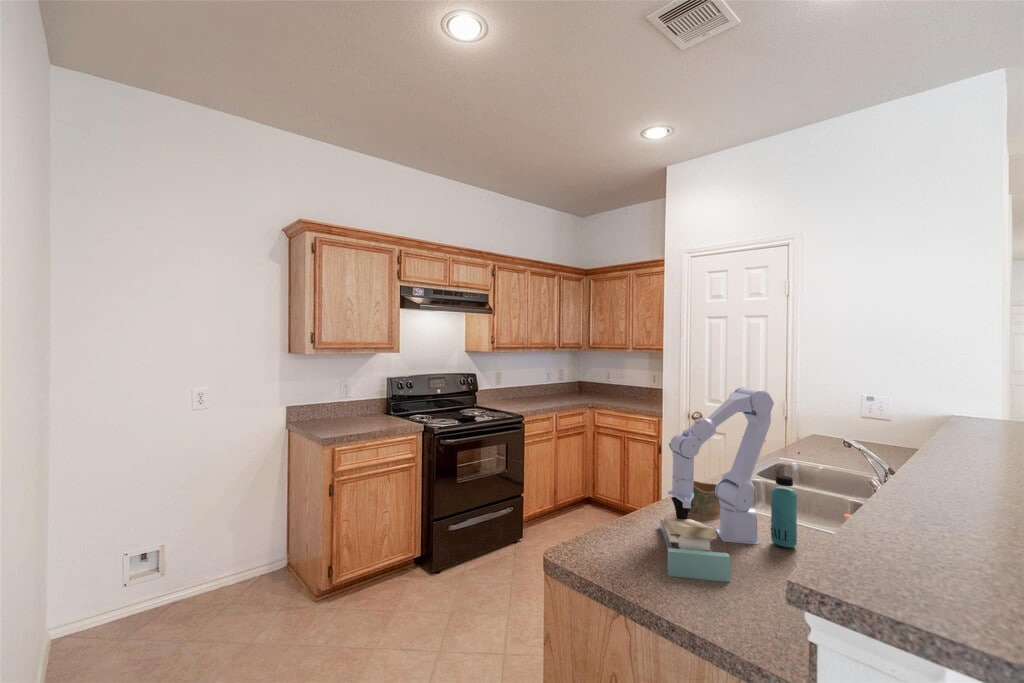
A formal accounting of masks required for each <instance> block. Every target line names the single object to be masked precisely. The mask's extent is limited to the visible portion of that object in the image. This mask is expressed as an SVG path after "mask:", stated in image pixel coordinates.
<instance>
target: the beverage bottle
mask: <svg viewBox="0 0 1024 683" xmlns="http://www.w3.org/2000/svg"><path fill="white" fill-rule="evenodd" d="M793 481H794V480H793V478H792V477H791V476H788V475H776V478H775V484H776V485H778V486H776V487H774V488H773V489H772V490H771V491H770V492H771V503H770V505H771V508H770V512H771V514H770V539H771V542H772V543H774V545H775V544H776V545H778V546H781V547H783V548H784V547H785V548H794V547H796V546H797V544H798V524H797V523H798V520H797V519H798V518H797V516H798V515H797V514H798V493H797V492H795V490H794V489H793V488H791V487H793V486H794V483H793Z"/></svg>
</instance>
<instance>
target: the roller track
mask: <svg viewBox="0 0 1024 683" xmlns="http://www.w3.org/2000/svg"><path fill="white" fill-rule="evenodd" d="M659 529H660V533H661V535H662V538H663V541H664V544H665V547H666V551H667V552H668V548H674V549H680V547H679V544H678V539H679V537H680V536H681V535H679V534H677V533H675V532H673V531H671V530H669V529H667V528H665V527H664V519H659ZM708 552H713V550H712V548H711V547H710V548H709V550H708Z"/></svg>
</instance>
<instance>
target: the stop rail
mask: <svg viewBox="0 0 1024 683" xmlns="http://www.w3.org/2000/svg"><path fill="white" fill-rule="evenodd" d="M667 575H668V577H674V578H675V577H676V578H684V579H685V578H686V579H692V580H693V579H694V580H705V581H706V580H707V581H715V582H717V581H718V582H727V583H730V582H731V556H730V554H729V553H728V552H718V551H712V552H708V551H697V550H685V549H678V548H668V551H667Z"/></svg>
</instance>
